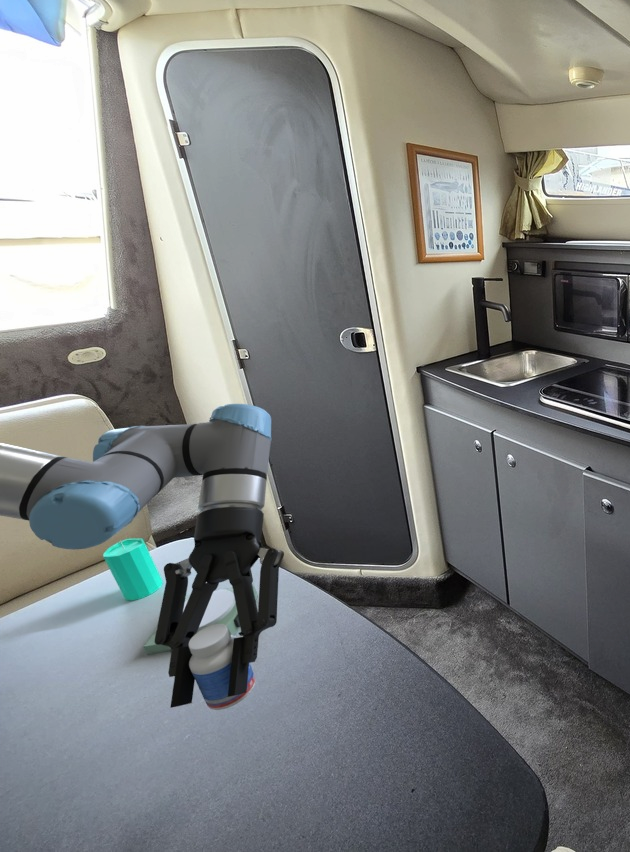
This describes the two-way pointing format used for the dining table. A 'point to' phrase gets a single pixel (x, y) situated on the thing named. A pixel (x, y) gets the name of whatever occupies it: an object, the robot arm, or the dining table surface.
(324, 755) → the dining table surface
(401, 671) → the dining table surface
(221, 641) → the pill bottle
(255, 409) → the robot arm
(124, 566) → the candle
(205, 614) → the kitchen scale
